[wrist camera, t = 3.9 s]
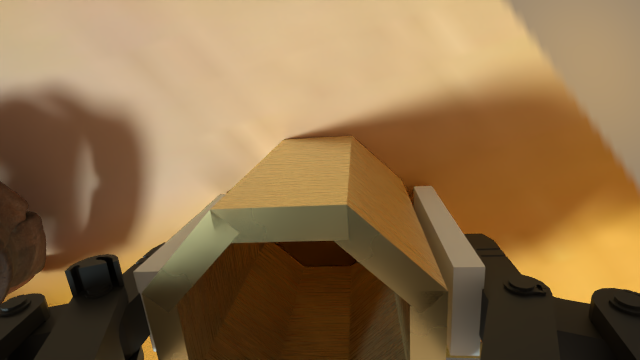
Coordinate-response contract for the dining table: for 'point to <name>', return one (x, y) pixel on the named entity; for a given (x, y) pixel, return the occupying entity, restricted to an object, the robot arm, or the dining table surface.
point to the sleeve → (304, 282)
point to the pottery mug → (19, 242)
